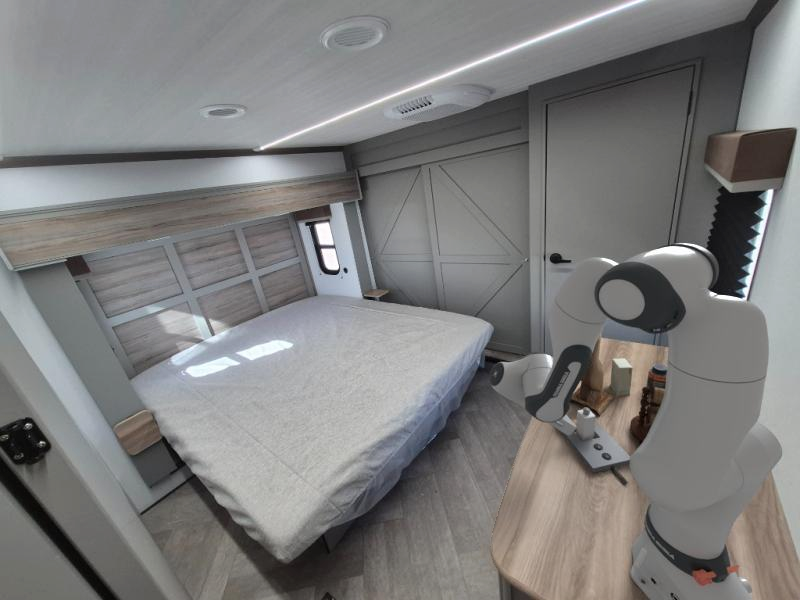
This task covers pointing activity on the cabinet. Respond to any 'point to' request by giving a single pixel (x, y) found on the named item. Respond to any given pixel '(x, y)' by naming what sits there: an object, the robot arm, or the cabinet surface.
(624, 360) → the skincare box
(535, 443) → the cabinet surface
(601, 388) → the bird sculpture
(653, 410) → the brown thread spool stand
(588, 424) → the charger plug
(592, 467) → the power strip
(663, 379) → the supplement bottle
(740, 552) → the cabinet surface
